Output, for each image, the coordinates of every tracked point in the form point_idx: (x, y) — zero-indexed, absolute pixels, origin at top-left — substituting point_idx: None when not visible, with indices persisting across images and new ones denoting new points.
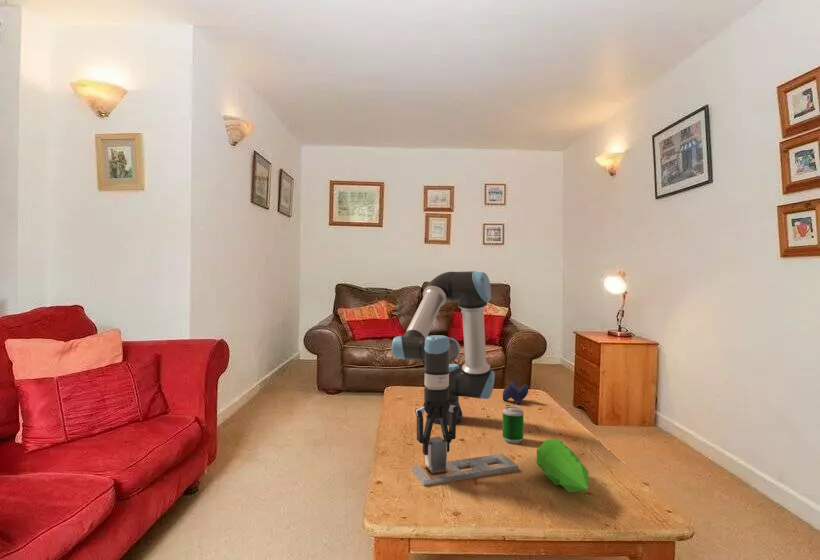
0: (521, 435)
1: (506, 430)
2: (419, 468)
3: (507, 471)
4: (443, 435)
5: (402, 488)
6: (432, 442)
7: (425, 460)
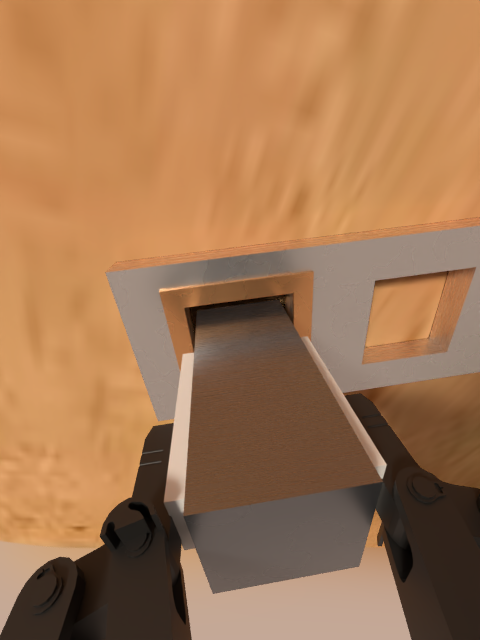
0: None
1: None
2: (155, 305)
3: None
4: (411, 550)
5: (65, 408)
6: (219, 584)
7: (181, 368)
